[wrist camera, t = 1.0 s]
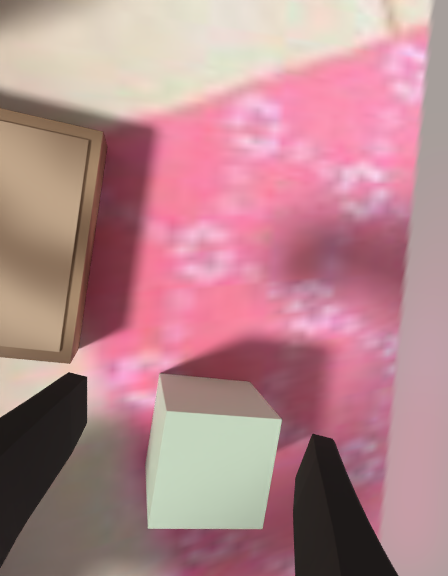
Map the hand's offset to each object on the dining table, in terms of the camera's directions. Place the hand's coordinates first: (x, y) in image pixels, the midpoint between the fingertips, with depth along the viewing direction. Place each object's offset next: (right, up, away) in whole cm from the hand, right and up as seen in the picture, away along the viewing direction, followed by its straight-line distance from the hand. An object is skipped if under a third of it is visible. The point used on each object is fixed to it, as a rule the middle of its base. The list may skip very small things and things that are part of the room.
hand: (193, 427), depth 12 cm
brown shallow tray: (-12, +7, +10) cm, 17 cm away
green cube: (-1, -4, +13) cm, 14 cm away
